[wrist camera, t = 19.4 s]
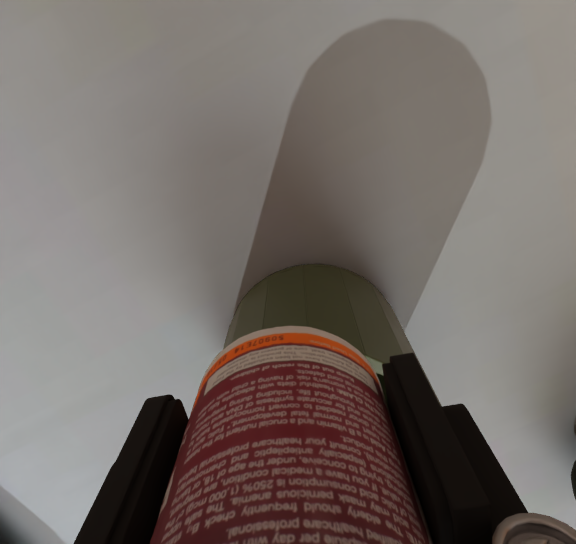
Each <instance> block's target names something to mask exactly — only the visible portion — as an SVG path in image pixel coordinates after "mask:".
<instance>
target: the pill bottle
mask: <svg viewBox="0 0 576 544" xmlns="http://www.w3.org/2000/svg"><path fill="white" fill-rule="evenodd" d="M149 544H433V540H432V537H431V534H430V531H429V528H428V524H427V521H426V518H425V515H424V512H423V509H422V506H421V503H420V500H419V498H418V495H417V492H416V489H415V486H414V483H413V480H412V477H411V475H410V472H409V469H408V466H407V463H406V460H405V457H404V454H403V451H402V448H401V445H400V442H399V439H398V436H397V433H396V430H395V427H394V424H393V421H392V418H391V414H390V411H389V408H388V406H387V403H386V400H385V397H384V393H383V390H382V387H381V384H380V381H379V379H378V377H377V375H376V372H375V371H374V369H373V367H372V366H371V364H370V363H369V361H368V360H367V359H366V358H365V357H364V355H363V354H362V353H361V352H360V351H359V350H357V349H356V348H355V347H353V346H352V345H351V344H349V343H348V342H347V341H345V340H343V339H342V338H340V337H338V336H335V335H333V334H330V333H328V332H326V331H322V330H319V329H315V328H311V327H304V326H282V327H274V328H268V329H263V330H259V331H256V332H253V333H250V334H248V335H245V336H243V337H240V338H239V339H237V340H236V341H234V342H233V343H231V344H230V345H228V346H227V347H226V348H225V349H224V350H222V351H221V352H220V353H219V354H218V355H217V356H216V357H215V359H214V360H213V361H212V363H211V364H210V366H209V367H208V369H207V371H206V373H205V375H204V377H203V379H202V381H201V384H200V387H199V390H198V394H197V397H196V400H195V402H194V405H193V408H192V412H191V415H190V418H189V421H188V424H187V426H186V429H185V432H184V435H183V439H182V443H181V446H180V449H179V453H178V456H177V459H176V462H175V465H174V468H173V471H172V474H171V476H170V479H169V482H168V486H167V490H166V494H165V497H164V500H163V502H162V505H161V509H160V513H159V516H158V520H157V523H156V526H155V529H154V533H153V536H152V538H151V540H150V543H149Z"/></svg>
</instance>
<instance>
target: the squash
mask: <svg viewBox="0 0 576 544" xmlns="http://www.w3.org/2000/svg"><path fill="white" fill-rule="evenodd" d="M571 481H572V488H573V492H574V496H575V499H576V461H575V462H574V465H573V468H572V472H571Z"/></svg>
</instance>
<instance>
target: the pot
mask: <svg viewBox="0 0 576 544" xmlns="http://www.w3.org/2000/svg"><path fill="white" fill-rule="evenodd" d="M282 326H304V327H311V328H315V329H319V330H322V331H326V332H328V333H330V334H333V335H335V336H338V337H340V338H342V339H343V340H345V341H347V342H348V343H349V344H351V345H352V346H353V347H355V348H356V349H357V350H359V351H360V352H361V353H362V354H363V355H364V357H365V358H366V359H367V360H368V361H369V363H370V364H371V366H372V367H373V369H374V371H375V372H376V375H377V377H378V379H379V381H380V384H381V387H382V390H383V393H384V397H385V400H386V403H387V396H386V389H385V382H384V376H383V369H382V364H385V363H390V356H394V355H400V354H406V353H412V352H413V353H414V351H413V349H412V347H411V345H410V343H409V341H408V339H407V337H406V335H405V333H404V331H403V329H402V327H401V325H400V323H399V321H398V319H397V317H396V315H395V313H394V311H393V309H392V307H391V306H390V305H389V303H388V302H387V301H386V300H385V298H384V297H383V296H382V294H381V293H380V292H379V291H378V290H377V289H376V288H375V287H374V286H373V285H372V284H371V283H370V282H368V281H367V280H366V279H364V278H363V277H361V276H359V275H357V274H355V273H354V272H351V271H348V270H346V269H343V268H339V267H336V266H331V265H323V264H307V265H298V266H294V267H290V268H286V269H283V270H281V271H278V272H276V273H274V274H272V275H270V276H268V277H266V278H265V279H263V280H262V281H261V282H259V283H258V284H256V285H255V286H254V287H253V288H252V289H251V290H250V291H249V292H248V293H247V295H246V296H245V297H244V298H243V300H242V301H241V303H240V305H239V306H238V308H237V310H236V313H235V315H234V318H233V320H232V322H231V324H230V326H229V330H228V333H227V337H226V341H225V344H224V348H223V350H224V349H225V348H226V347H227V346H228V345H230V344H231V343H233V342H234V341H236V340H237V339H239V338H240V337H243V336H245V335H248V334H250V333H253V332H256V331H259V330H263V329H268V328H274V327H282ZM414 354H415V353H414ZM415 356H416V355H415ZM416 358H417V357H416ZM417 360H418V359H417ZM418 362H419V361H418ZM419 364H420V363H419ZM420 366H421V365H420ZM421 368H422V367H421ZM422 370H423V368H422ZM423 372H424V370H423ZM424 374H425V372H424ZM425 376H426V374H425ZM426 378H427V376H426ZM427 380H428V378H427ZM428 382H429V380H428ZM429 384H430V382H429ZM430 386H431V384H430ZM431 388H432V386H431ZM432 390H433V388H432ZM433 392H434V390H433ZM434 394H435V392H434ZM435 396H436V394H435ZM436 398H437V396H436ZM437 400H438V398H437ZM438 402H439V400H438ZM439 403H440V402H439ZM440 405H441V404H440ZM387 406H388V403H387ZM441 407H442V406H441Z"/></svg>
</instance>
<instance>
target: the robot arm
mask: <svg viewBox="0 0 576 544" xmlns="http://www.w3.org/2000/svg"><path fill="white" fill-rule="evenodd" d="M382 369H383V376H384V382H385V389H386V396H387V403H388V408H389V411H390V414H391V418H392V421H393V424H394V427H395V430H396V433H397V436H398V439H399V442H400V445H401V448H402V451H403V454H404V457H405V460H406V463H407V466H408V469H409V472H410V475H411V477H412V480H413V483H414V486H415V489H416V492H417V495H418V498H419V500H420V503H421V506H422V509H423V512H424V515H425V518H426V521H427V524H428V528H429V531H430V534H431V537H432V540H433V544H576V530H574V529H573V528H572V527H570V526H569V525H567V524H566V523H564V522H561V521H559V520H557V519H555V518H552V517H550V516H546V515H541V514H537V513H528V511H527V510H526V508H525V506H524V505H523V503H522V501H521V500H520V498H519V496H518V494H517V493H516V491H515V489H514V488H513V486H512V484H511V483H510V481H509V479H508V478H507V476H506V474H505V472H504V471H503V469H502V467H501V466H500V464H499V462H498V461H497V459H496V457H495V455H494V454H493V452H492V450H491V449H490V447H489V445H488V444H487V442H486V440H485V438H484V437H483V435H482V433H481V432H480V430H479V428H478V427H477V425H476V423H475V422H474V420H473V418H472V416H471V415H470V413H469V411H468V410H467V408H466V407H465V406H464V405H463V404H456V405H450V406H444V407H441V405H440V403H439V402H438V400H437V398H436V396H435V394H434V392H433V390H432V388H431V386H430V384H429V382H428V380H427V378H426V376H425V374H424V372H423V370H422V368H421V366H420V364H419V362H418V360H417V358H416V356H415V354H414V353H413V352H412V353H406V354H400V355H394V356H390V363H385V364H382ZM188 421H189V420H188V417H187V414H186V412H185V409H184V406H183V404H182V402H181V400H180V399H176V400H175V399H174V397H173V396H172V395H164V396H158V397H152V398H148V399H147V400H146V401H145V403H144V405H143V407H142V409H141V411H140V413H139V415H138V417H137V419H136V421H135V423H134V425H133V427H132V429H131V431H130V433H129V435H128V437H127V439H126V441H125V444H124V446H123V448H122V450H121V452H120V454H119V456H118V458H117V460H116V462H115V463H114V464H113V466H112V467H111V469H110V471H109V473H108V475H107V477H106V479H105V481H104V483H103V485H102V487H101V489H100V491H99V493H98V495H97V497H96V499H95V501H94V503H93V505H92V507H91V509H90V511H89V513H88V515H87V517H86V520H85V522H84V524H83V526H82V528H81V530H80V532H79V534H78V536H77V538H76V540H75V542H74V544H149V543H150V540H151V538H152V536H153V533H154V529H155V526H156V523H157V520H158V516H159V513H160V509H161V505H162V502H163V500H164V497H165V494H166V490H167V486H168V482H169V479H170V476H171V474H172V471H173V468H174V465H175V462H176V459H177V456H178V453H179V449H180V446H181V443H182V439H183V435H184V432H185V429H186V426H187V424H188Z"/></svg>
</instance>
